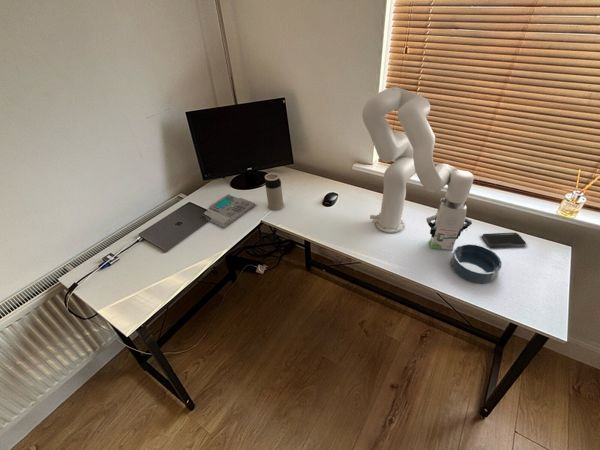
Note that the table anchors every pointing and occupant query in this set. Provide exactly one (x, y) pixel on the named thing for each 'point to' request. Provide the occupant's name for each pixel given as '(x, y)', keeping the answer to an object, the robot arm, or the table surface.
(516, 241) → the phone
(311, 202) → the table surface
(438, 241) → the ink box
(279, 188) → the travel mug
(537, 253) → the table surface
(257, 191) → the table surface
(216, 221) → the office telephone
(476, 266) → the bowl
